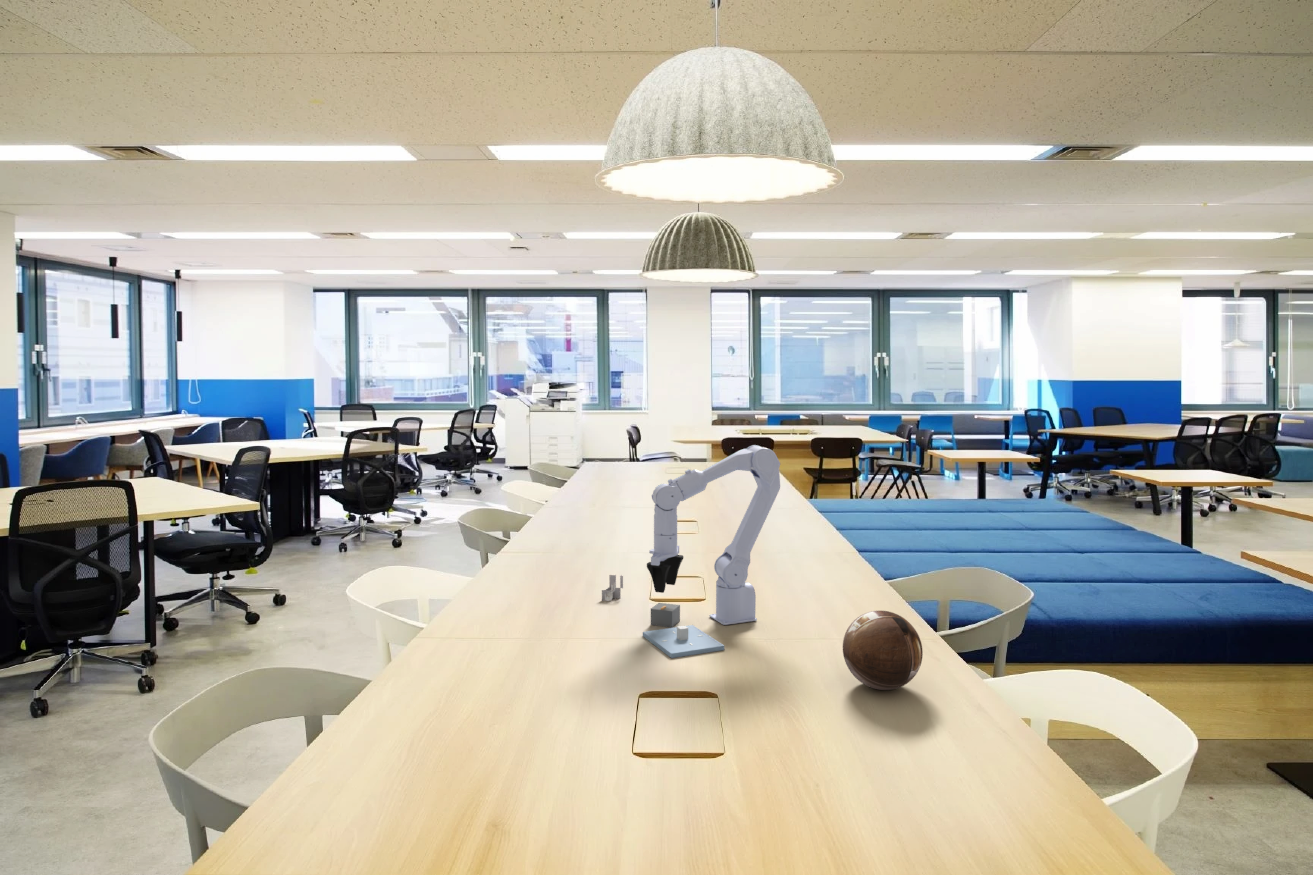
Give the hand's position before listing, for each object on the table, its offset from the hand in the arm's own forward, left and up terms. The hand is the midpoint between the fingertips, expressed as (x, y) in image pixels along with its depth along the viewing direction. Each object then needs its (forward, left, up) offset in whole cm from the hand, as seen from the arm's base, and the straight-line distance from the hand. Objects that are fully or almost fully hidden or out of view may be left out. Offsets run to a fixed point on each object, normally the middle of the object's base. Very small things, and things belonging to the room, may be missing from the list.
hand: (665, 588), depth 197 cm
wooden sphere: (-22, +54, -9) cm, 59 cm away
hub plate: (+2, +15, -9) cm, 17 cm away
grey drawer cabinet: (0, 0, -9) cm, 9 cm away
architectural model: (+3, -20, -10) cm, 22 cm away
